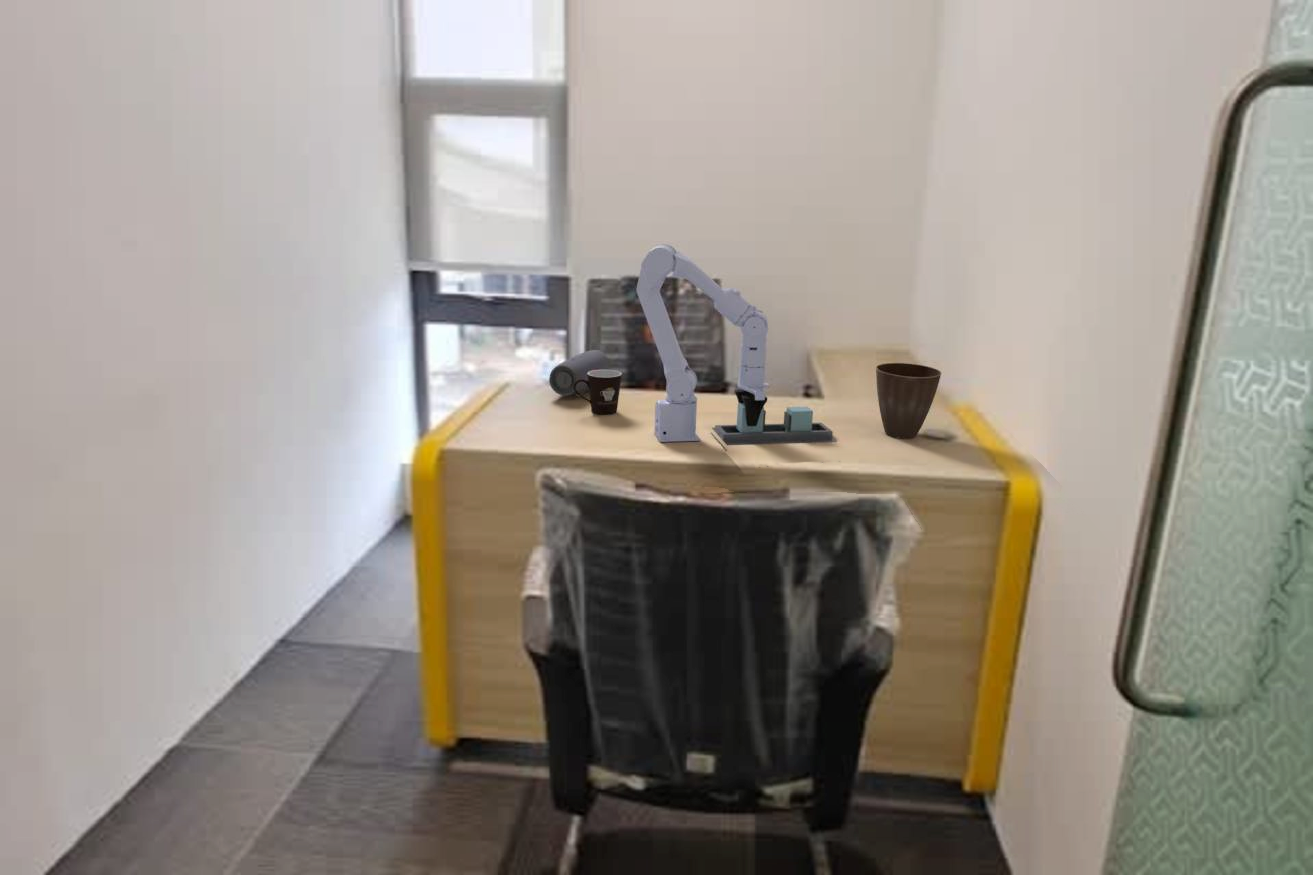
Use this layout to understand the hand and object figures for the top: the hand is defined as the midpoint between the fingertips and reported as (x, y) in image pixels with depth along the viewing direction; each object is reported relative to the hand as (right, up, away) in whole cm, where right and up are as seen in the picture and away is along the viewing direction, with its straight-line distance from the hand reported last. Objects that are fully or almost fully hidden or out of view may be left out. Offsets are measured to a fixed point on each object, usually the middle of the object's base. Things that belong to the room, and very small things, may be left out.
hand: (749, 423), depth 214 cm
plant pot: (+38, -3, +11) cm, 39 cm away
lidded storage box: (0, -2, +1) cm, 2 cm away
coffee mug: (-36, +3, +23) cm, 43 cm away
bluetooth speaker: (-42, +9, +43) cm, 61 cm away
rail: (+6, -4, +2) cm, 7 cm away
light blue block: (+12, -2, +3) cm, 12 cm away
